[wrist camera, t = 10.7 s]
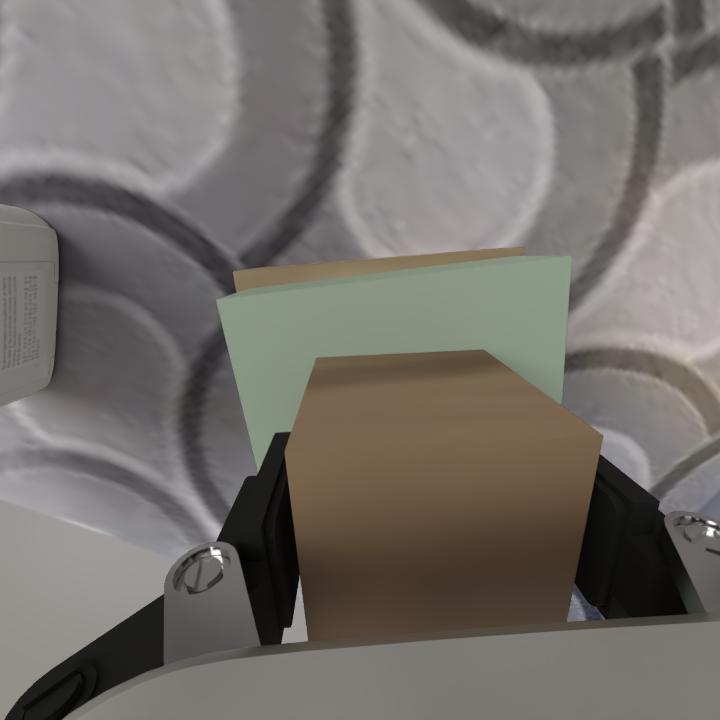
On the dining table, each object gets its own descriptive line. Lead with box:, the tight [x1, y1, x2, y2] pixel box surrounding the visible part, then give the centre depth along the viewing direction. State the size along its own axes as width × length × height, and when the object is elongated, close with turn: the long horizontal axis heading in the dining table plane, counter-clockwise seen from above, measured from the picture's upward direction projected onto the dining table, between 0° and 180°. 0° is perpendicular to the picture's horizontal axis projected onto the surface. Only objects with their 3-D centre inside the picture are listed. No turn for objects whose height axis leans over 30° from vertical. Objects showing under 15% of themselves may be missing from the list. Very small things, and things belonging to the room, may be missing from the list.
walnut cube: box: [285, 349, 603, 641], centre depth 10 cm, size 6×6×6 cm
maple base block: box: [233, 247, 524, 292], centre depth 19 cm, size 13×13×4 cm
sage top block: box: [216, 256, 572, 472], centre depth 15 cm, size 12×12×4 cm
